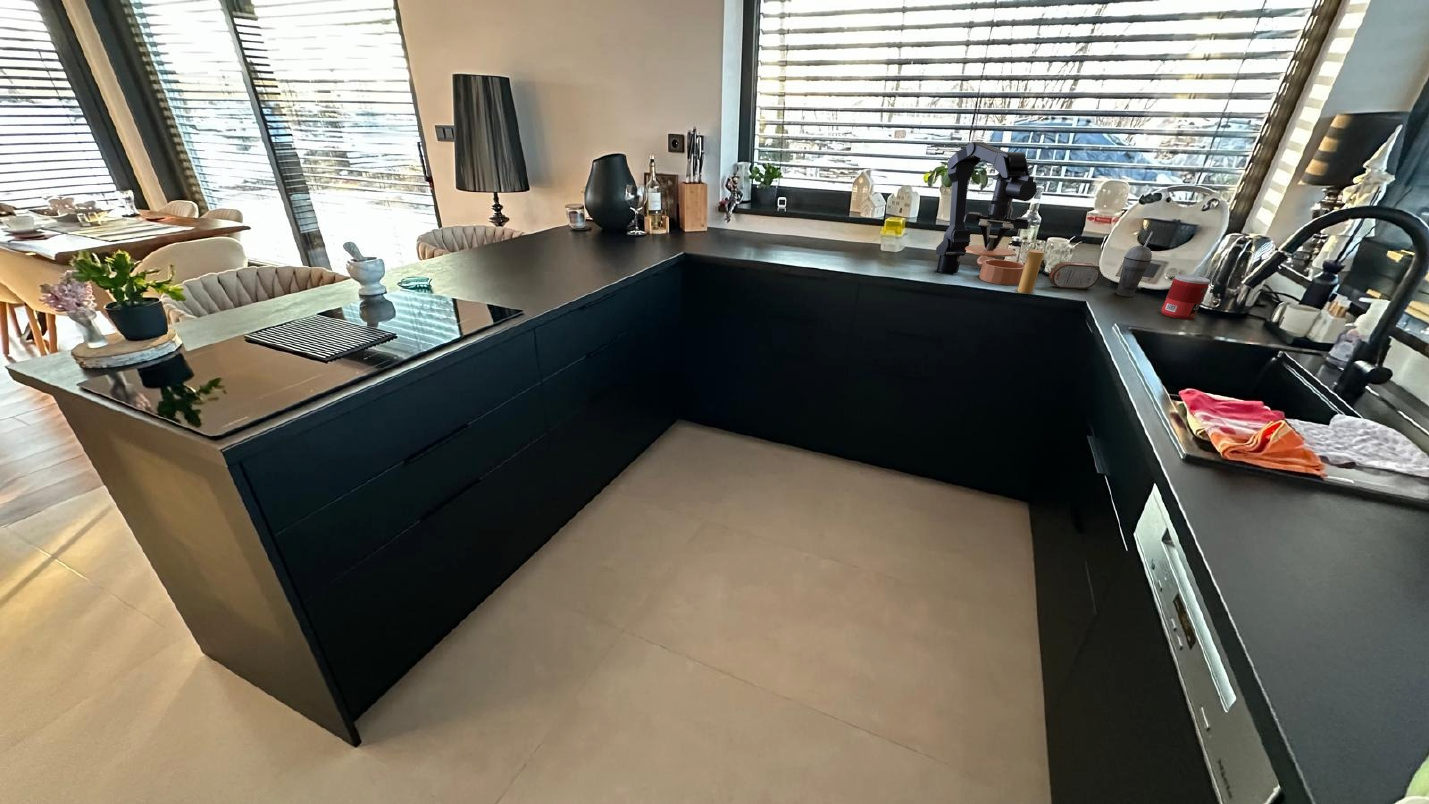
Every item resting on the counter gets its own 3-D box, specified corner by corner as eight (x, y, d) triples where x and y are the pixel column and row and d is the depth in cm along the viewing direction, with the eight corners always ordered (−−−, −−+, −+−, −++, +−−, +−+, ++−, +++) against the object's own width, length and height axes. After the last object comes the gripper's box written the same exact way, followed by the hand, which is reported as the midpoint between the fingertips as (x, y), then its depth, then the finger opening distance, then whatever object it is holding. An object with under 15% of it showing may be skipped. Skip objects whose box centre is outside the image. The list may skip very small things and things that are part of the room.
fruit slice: (1000, 272, 204) (1003, 258, 202) (982, 271, 203) (986, 258, 201) (988, 266, 211) (992, 253, 209) (971, 266, 211) (974, 253, 208)
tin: (1091, 287, 187) (1100, 262, 183) (1096, 290, 184) (1105, 264, 180) (1045, 285, 188) (1052, 260, 184) (1049, 288, 185) (1057, 262, 181)
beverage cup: (1114, 290, 185) (1136, 228, 176) (1140, 294, 180) (1164, 231, 171) (1108, 294, 180) (1131, 230, 171) (1135, 299, 176) (1159, 234, 167)
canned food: (1195, 321, 157) (1212, 283, 152) (1161, 316, 160) (1176, 278, 155) (1192, 314, 162) (1208, 277, 157) (1159, 309, 166) (1173, 273, 161)
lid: (959, 253, 178) (962, 237, 175) (971, 246, 188) (975, 231, 186) (1008, 260, 170) (1012, 243, 168) (1018, 253, 180) (1022, 237, 178)
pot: (974, 280, 193) (978, 264, 190) (984, 272, 202) (988, 257, 200) (1017, 287, 185) (1021, 270, 183) (1025, 279, 195) (1030, 263, 192)
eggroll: (1016, 291, 180) (1027, 251, 174) (1019, 289, 183) (1030, 249, 177) (1030, 294, 178) (1042, 253, 172) (1033, 291, 181) (1045, 251, 175)
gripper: (1041, 197, 172) (1027, 248, 179) (978, 192, 182) (967, 240, 189) (1034, 200, 164) (1019, 254, 171) (968, 194, 174) (957, 245, 181)
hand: (990, 248), depth 178 cm, fingers closed on lid, 2 cm apart
